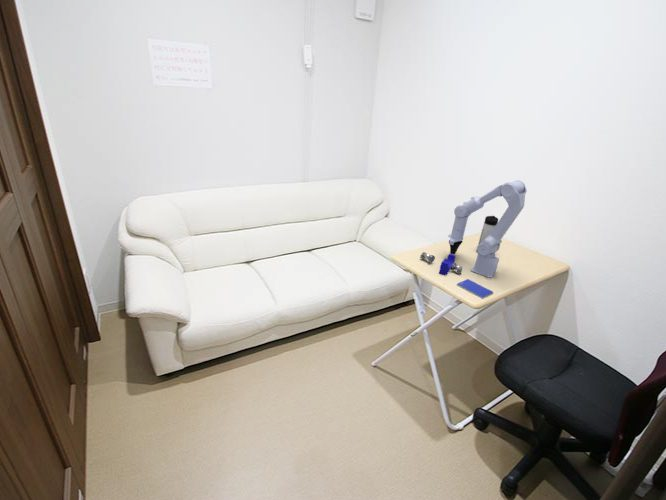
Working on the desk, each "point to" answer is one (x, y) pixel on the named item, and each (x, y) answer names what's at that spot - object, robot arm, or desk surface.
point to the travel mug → (488, 227)
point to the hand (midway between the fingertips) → (452, 253)
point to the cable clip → (446, 264)
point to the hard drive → (475, 288)
